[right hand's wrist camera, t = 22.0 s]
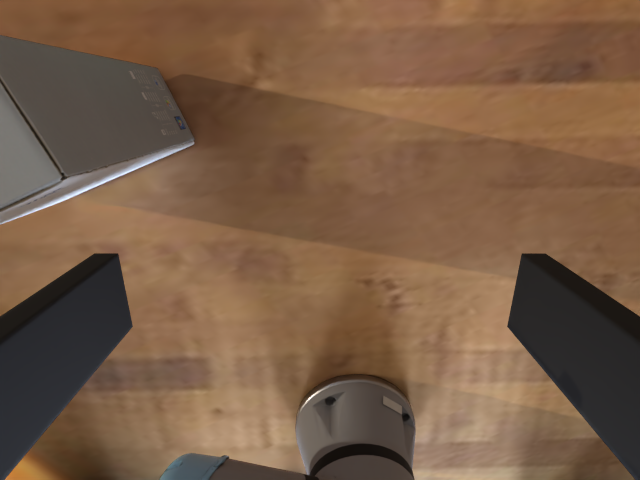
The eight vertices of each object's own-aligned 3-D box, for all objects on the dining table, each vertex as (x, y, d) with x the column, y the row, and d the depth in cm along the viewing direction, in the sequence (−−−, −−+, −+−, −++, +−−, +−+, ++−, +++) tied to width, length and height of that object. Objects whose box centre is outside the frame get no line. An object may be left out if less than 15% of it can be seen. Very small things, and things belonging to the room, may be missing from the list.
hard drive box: (158, 64, 35) (-33, 18, 16) (198, 142, 37) (74, 183, 18) (20, 131, 37) (-292, 160, 18) (67, 201, 39) (-165, 292, 20)
